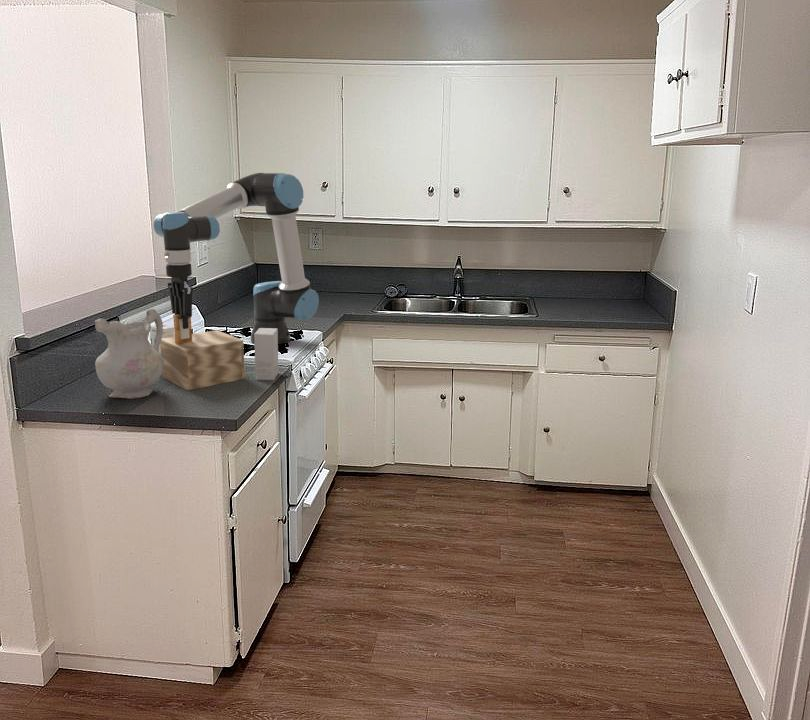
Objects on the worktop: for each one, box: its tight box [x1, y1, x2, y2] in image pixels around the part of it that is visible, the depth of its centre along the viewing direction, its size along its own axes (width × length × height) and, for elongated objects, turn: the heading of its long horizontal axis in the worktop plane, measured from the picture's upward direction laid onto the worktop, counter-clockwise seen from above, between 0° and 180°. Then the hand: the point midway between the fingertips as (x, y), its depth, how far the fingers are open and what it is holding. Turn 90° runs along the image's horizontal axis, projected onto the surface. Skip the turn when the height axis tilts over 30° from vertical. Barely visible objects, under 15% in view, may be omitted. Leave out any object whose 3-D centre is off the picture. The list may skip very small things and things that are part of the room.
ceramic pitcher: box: [94, 308, 164, 400], centre depth 229 cm, size 22×20×25 cm
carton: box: [160, 342, 246, 391], centre depth 246 cm, size 20×18×12 cm
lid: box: [161, 314, 244, 353], centre depth 243 cm, size 20×18×10 cm
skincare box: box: [253, 328, 279, 381], centre depth 247 cm, size 8×7×16 cm
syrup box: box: [149, 324, 175, 354], centre depth 256 cm, size 6×6×14 cm
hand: (183, 337), depth 240 cm, fingers closed on lid, 2 cm apart
